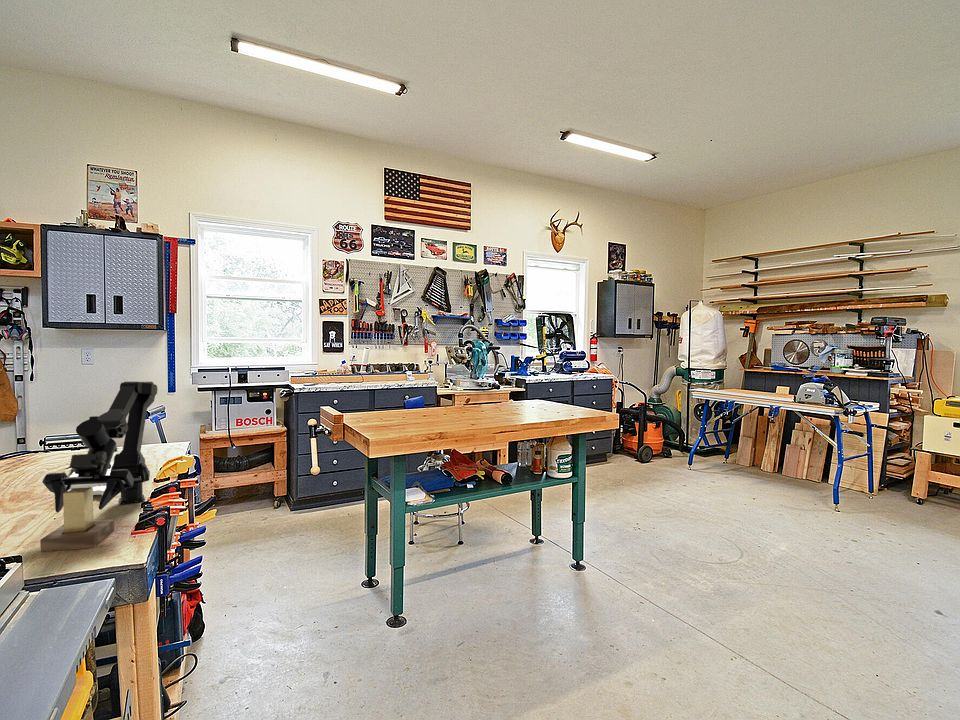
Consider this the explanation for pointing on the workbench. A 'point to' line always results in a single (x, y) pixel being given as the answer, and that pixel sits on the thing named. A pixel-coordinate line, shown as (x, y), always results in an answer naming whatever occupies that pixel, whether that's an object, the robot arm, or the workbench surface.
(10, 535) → the workbench surface
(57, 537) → the walnut block
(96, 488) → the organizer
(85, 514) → the pale yellow rectangular block
